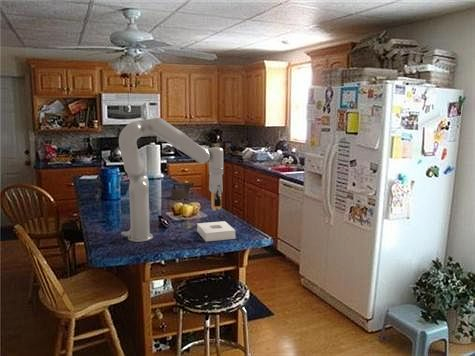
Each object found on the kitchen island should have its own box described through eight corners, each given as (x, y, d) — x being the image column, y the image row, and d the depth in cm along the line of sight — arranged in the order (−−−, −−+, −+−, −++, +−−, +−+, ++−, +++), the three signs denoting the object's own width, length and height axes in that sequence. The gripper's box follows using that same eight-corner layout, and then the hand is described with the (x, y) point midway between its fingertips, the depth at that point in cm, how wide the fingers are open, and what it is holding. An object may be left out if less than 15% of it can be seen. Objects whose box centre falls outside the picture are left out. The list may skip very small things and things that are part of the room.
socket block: (205, 241, 204) (205, 233, 203) (197, 231, 221) (197, 223, 220) (235, 238, 209) (235, 230, 209) (224, 228, 226) (224, 221, 225)
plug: (213, 211, 210) (213, 192, 208) (211, 209, 214) (211, 191, 212) (221, 210, 212) (221, 191, 210) (219, 208, 215) (219, 190, 213)
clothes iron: (190, 201, 292) (190, 183, 289) (170, 199, 296) (170, 181, 294) (195, 199, 299) (194, 181, 297) (175, 197, 304) (175, 179, 302)
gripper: (205, 169, 216) (205, 202, 219) (213, 174, 200) (213, 209, 203) (218, 168, 218) (218, 201, 221) (228, 173, 202) (227, 208, 206)
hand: (216, 204), depth 212 cm, fingers closed on plug, 4 cm apart
